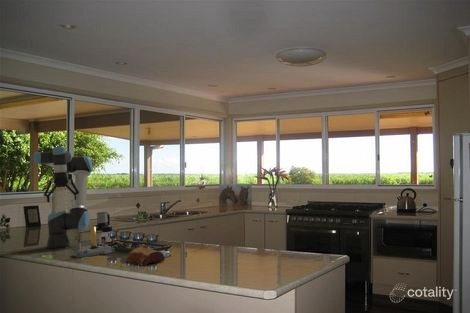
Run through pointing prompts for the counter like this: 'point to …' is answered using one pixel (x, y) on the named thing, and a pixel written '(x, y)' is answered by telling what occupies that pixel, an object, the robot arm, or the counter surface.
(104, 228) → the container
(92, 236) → the brass pin
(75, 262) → the counter surface
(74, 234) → the counter surface
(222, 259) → the counter surface
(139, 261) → the cured meat
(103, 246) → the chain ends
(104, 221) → the milk frother
